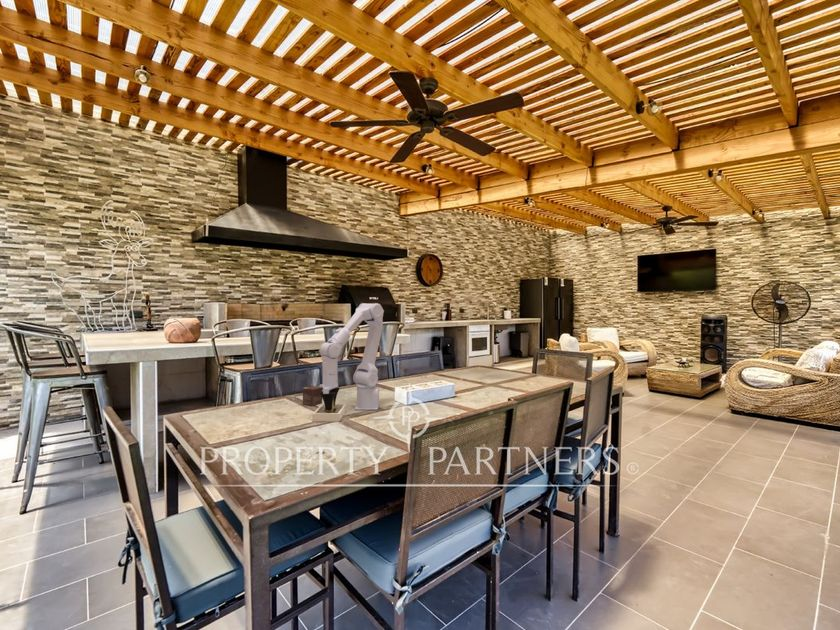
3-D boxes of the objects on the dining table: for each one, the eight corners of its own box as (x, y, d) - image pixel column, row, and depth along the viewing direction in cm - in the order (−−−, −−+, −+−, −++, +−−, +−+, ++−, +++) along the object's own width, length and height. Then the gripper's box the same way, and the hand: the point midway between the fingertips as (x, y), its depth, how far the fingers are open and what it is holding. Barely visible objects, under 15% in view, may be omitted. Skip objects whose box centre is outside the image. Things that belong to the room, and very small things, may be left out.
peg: (334, 414, 159) (334, 396, 159) (332, 416, 156) (332, 398, 156) (327, 413, 159) (326, 396, 159) (324, 416, 156) (324, 398, 156)
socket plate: (342, 412, 162) (342, 407, 162) (338, 418, 154) (338, 412, 154) (322, 412, 162) (322, 407, 162) (317, 417, 154) (317, 412, 154)
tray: (346, 411, 165) (346, 404, 165) (339, 421, 151) (339, 413, 151) (321, 411, 165) (321, 404, 165) (312, 421, 151) (312, 413, 151)
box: (322, 403, 178) (322, 386, 177) (312, 406, 173) (312, 389, 172) (312, 401, 181) (312, 385, 181) (302, 404, 176) (302, 387, 176)
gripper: (324, 370, 164) (324, 403, 165) (314, 376, 150) (315, 413, 150) (341, 370, 164) (341, 403, 165) (333, 376, 150) (334, 413, 150)
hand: (330, 408), depth 158 cm, fingers open, 5 cm apart
